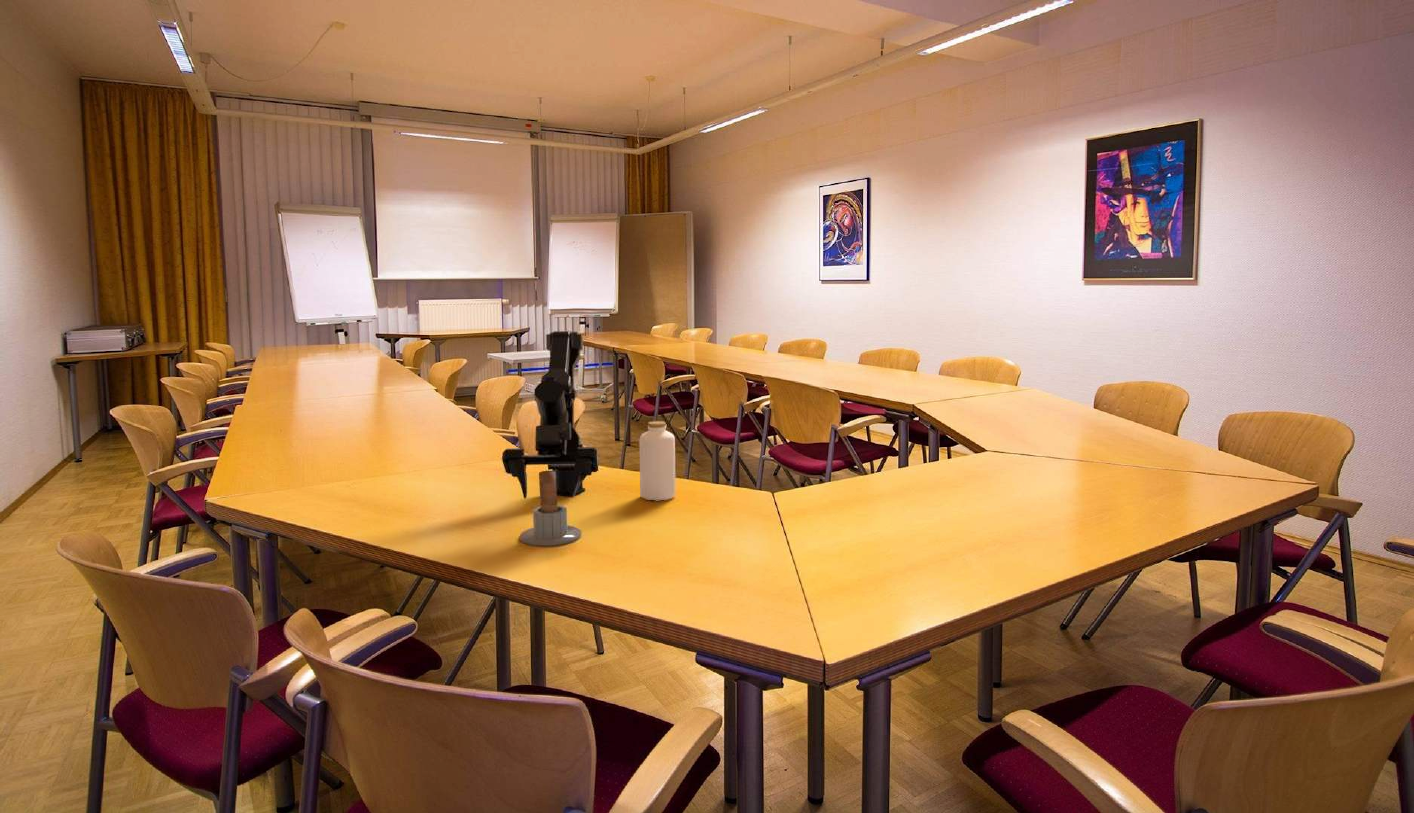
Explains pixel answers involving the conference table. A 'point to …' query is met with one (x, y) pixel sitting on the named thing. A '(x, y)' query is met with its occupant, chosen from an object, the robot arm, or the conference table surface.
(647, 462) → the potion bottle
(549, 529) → the grey flared collar base
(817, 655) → the conference table surface
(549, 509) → the brown wooden dowel
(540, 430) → the robot arm
